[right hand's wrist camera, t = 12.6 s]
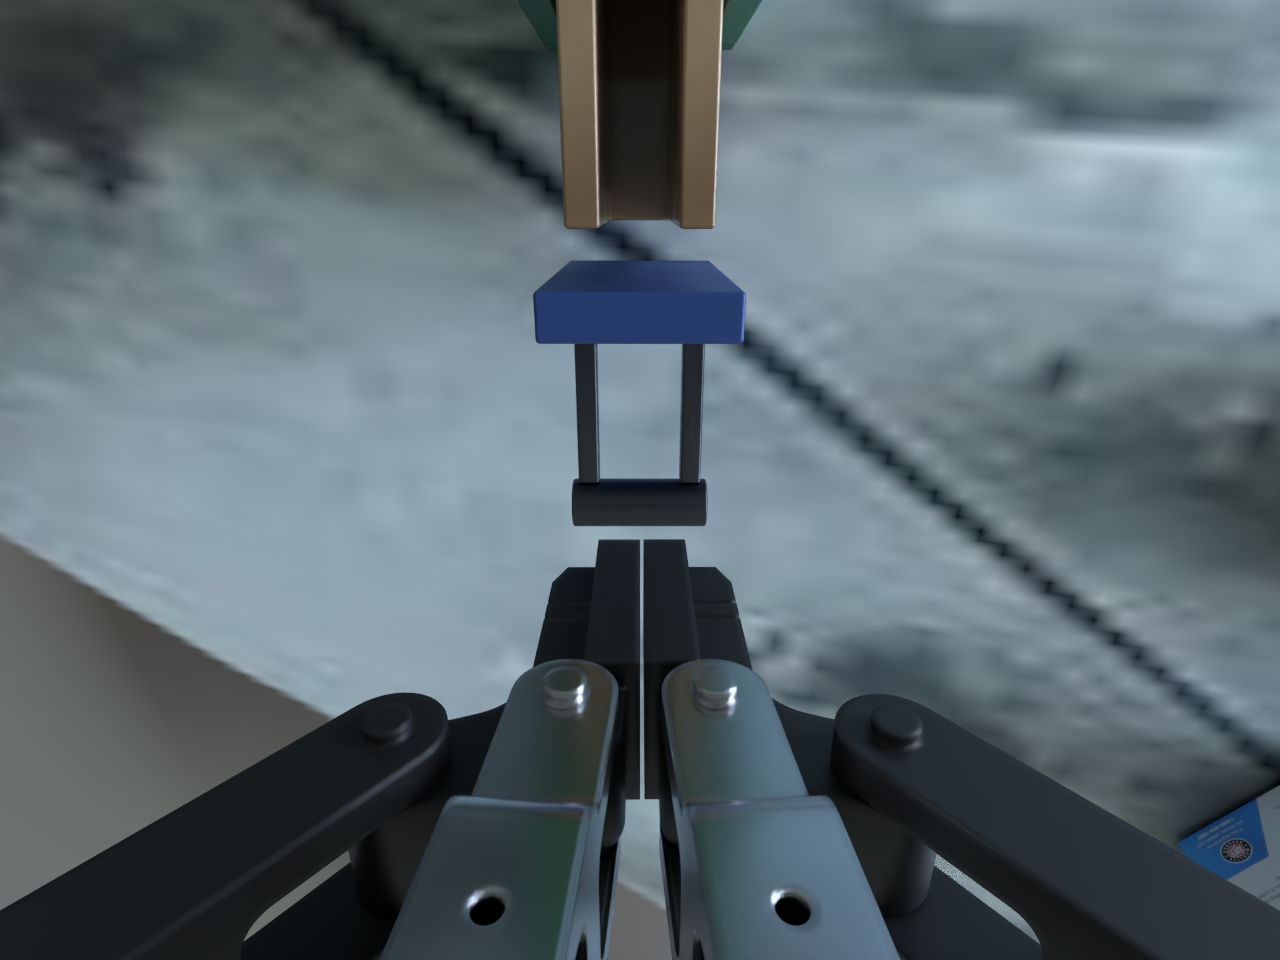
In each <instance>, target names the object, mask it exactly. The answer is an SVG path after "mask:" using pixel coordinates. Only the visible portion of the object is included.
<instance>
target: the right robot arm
mask: <svg viewBox="0 0 1280 960" xmlns="http://www.w3.org/2000/svg"><path fill="white" fill-rule="evenodd" d="M643 654H644V782H645V799H659V808H660V860H661V868H662V877H663V885H664V894H665V902H666V911H667V919H668V927H669V936H670V944H671V953H672V960H1280V910H1278V909H1276V908H1275V907H1273V906H1271V905H1269V904H1268V903H1266V902H1264V901H1262V900H1261V899H1259V898H1257V897H1255V896H1254V895H1252V894H1250V893H1248V892H1247V891H1245V890H1243V889H1241V888H1240V887H1238V886H1236V885H1234V884H1233V883H1231V882H1229V881H1228V880H1226V879H1224V878H1222V877H1221V876H1219V875H1217V874H1215V873H1214V872H1212V871H1210V870H1208V869H1207V868H1205V867H1203V866H1201V865H1200V864H1198V863H1196V862H1194V861H1193V860H1191V859H1189V858H1187V857H1186V856H1184V855H1182V854H1181V853H1179V852H1177V851H1175V850H1174V849H1172V848H1170V847H1168V846H1167V845H1165V844H1163V843H1161V842H1160V841H1158V840H1156V839H1154V838H1153V837H1151V836H1149V835H1147V834H1146V833H1144V832H1142V831H1140V830H1139V829H1137V828H1135V827H1134V826H1132V825H1130V824H1128V823H1127V822H1125V821H1123V820H1121V819H1120V818H1118V817H1116V816H1114V815H1113V814H1111V813H1109V812H1107V811H1106V810H1104V809H1102V808H1100V807H1099V806H1097V805H1095V804H1093V803H1092V802H1090V801H1088V800H1087V799H1085V798H1083V797H1081V796H1080V795H1078V794H1076V793H1074V792H1073V791H1071V790H1069V789H1067V788H1066V787H1064V786H1062V785H1060V784H1059V783H1057V782H1055V781H1053V780H1052V779H1050V778H1048V777H1046V776H1045V775H1043V774H1041V773H1040V772H1038V771H1036V770H1034V769H1033V768H1031V767H1029V766H1027V765H1026V764H1024V763H1022V762H1020V761H1019V760H1017V759H1015V758H1013V757H1012V756H1010V755H1008V754H1006V753H1005V752H1003V751H1001V750H999V749H998V748H996V747H994V746H992V745H991V744H989V743H987V742H986V741H984V740H982V739H980V738H979V737H977V736H975V735H973V734H972V733H970V732H968V731H966V730H965V729H963V728H961V727H959V726H958V725H956V724H954V723H952V722H951V721H949V720H947V719H945V718H944V717H942V716H940V715H939V714H937V713H935V712H933V711H932V710H930V709H928V708H926V707H924V706H922V705H920V704H918V703H916V702H913V701H911V700H908V699H905V698H901V697H897V696H892V695H883V694H869V695H863V696H859V697H856V698H853V699H851V700H849V701H847V702H846V703H844V704H843V705H842V706H841V707H840V709H839V710H838V711H837V714H836V717H835V720H834V719H829V718H825V717H821V716H816V715H812V714H807V713H804V712H800V711H797V710H794V709H792V708H789V707H787V706H785V705H783V704H781V703H779V702H777V701H776V700H774V699H773V698H771V695H770V692H769V690H768V687H767V686H766V684H765V682H764V681H763V680H762V678H761V677H760V676H759V675H757V674H756V673H755V672H754V671H752V667H751V663H750V658H749V654H748V650H747V646H746V642H745V638H744V633H743V629H742V625H741V621H740V618H739V613H738V608H737V604H736V602H735V596H734V592H733V588H732V583H731V582H730V581H729V580H728V579H727V578H726V577H725V576H724V575H723V574H722V573H721V572H720V571H719V570H718V569H717V568H716V567H688V559H687V552H686V544H685V540H684V539H644V581H643ZM626 799H640V540H599V542H598V550H597V558H596V566H595V567H568V568H567V569H566V570H565V571H564V572H563V573H562V574H561V575H560V576H559V577H558V578H557V579H556V580H555V581H554V582H553V583H552V587H551V591H550V596H549V600H548V604H547V609H546V613H545V619H544V622H543V626H542V630H541V635H540V639H539V643H538V648H537V652H536V656H535V661H534V665H533V668H531V669H530V670H528V671H526V672H525V673H524V674H523V675H521V676H520V677H519V678H518V680H517V681H516V682H515V684H514V686H513V687H512V690H511V692H510V695H509V698H508V700H507V703H505V704H503V705H501V706H499V707H497V708H494V709H491V710H489V711H486V712H482V713H479V714H474V715H470V716H466V717H461V718H457V719H452V720H448V718H447V714H446V711H445V709H444V708H443V706H442V705H441V704H440V703H439V702H438V701H436V700H435V699H433V698H431V697H429V696H426V695H422V694H417V693H393V694H388V695H383V696H380V697H376V698H373V699H370V700H368V701H365V702H363V703H361V704H359V705H357V706H355V707H354V708H352V709H350V710H348V711H347V712H345V713H343V714H341V715H340V716H338V717H336V718H335V719H333V720H331V721H329V722H328V723H326V724H324V725H322V726H321V727H319V728H317V729H315V730H314V731H312V732H310V733H308V734H307V735H305V736H303V737H301V738H300V739H298V740H296V741H295V742H293V743H291V744H289V745H288V746H286V747H284V748H282V749H281V750H279V751H277V752H275V753H274V754H272V755H270V756H268V757H267V758H265V759H263V760H261V761H260V762H258V763H256V764H254V765H253V766H251V767H249V768H247V769H246V770H244V771H242V772H241V773H239V774H237V775H235V776H234V777H232V778H230V779H228V780H227V781H225V782H223V783H221V784H220V785H218V786H216V787H214V788H213V789H211V790H209V791H208V792H206V793H204V794H202V795H200V796H199V797H197V798H195V799H194V800H192V801H190V802H188V803H187V804H185V805H183V806H181V807H180V808H178V809H176V810H174V811H173V812H171V813H169V814H167V815H166V816H164V817H162V818H160V819H159V820H157V821H155V822H153V823H152V824H150V825H148V826H147V827H145V828H143V829H141V830H140V831H138V832H136V833H134V834H133V835H131V836H129V837H127V838H126V839H124V840H122V841H120V842H119V843H117V844H115V845H113V846H112V847H110V848H108V849H107V850H105V851H103V852H101V853H100V854H98V855H96V856H94V857H93V858H91V859H89V860H87V861H86V862H84V863H82V864H80V865H79V866H77V867H75V868H73V869H72V870H70V871H68V872H66V873H65V874H63V875H61V876H59V877H58V878H56V879H54V880H53V881H51V882H49V883H47V884H46V885H44V886H42V887H40V888H39V889H37V890H35V891H33V892H32V893H30V894H28V895H26V896H25V897H23V898H21V899H19V900H18V901H16V902H14V903H12V904H11V905H9V906H7V907H6V908H4V909H2V910H0V960H608V953H609V944H610V936H611V928H612V919H613V911H614V902H615V894H616V885H617V877H618V868H619V860H620V836H621V834H622V831H623V828H624V824H625V801H626ZM347 850H348V851H349V856H350V861H351V862H350V863H349V864H347V865H346V866H345V867H343V868H342V869H341V870H339V871H338V872H336V873H335V874H334V875H332V876H331V877H330V878H328V879H327V880H326V881H324V882H323V883H322V884H320V885H319V886H318V887H316V888H315V889H314V890H312V891H311V892H310V893H308V894H307V895H306V896H304V897H303V898H302V899H300V900H299V901H298V902H296V903H295V904H294V905H292V906H291V907H290V908H288V909H287V910H286V911H284V912H283V913H282V914H280V915H279V916H278V917H276V918H275V919H274V920H272V921H271V922H270V923H268V924H267V925H266V926H264V927H263V928H262V929H260V930H259V931H258V932H256V933H255V934H254V935H252V936H251V937H250V938H248V939H247V940H245V941H244V939H245V936H246V935H247V933H248V931H249V929H250V928H251V927H252V925H253V924H254V922H255V921H256V920H257V919H258V918H259V917H260V916H261V915H262V914H263V913H264V912H265V911H266V910H267V909H268V908H270V907H271V906H272V905H273V904H275V903H276V902H278V901H279V900H280V899H282V898H283V897H284V896H286V895H287V894H289V893H290V892H291V891H293V890H294V889H295V888H297V887H298V886H299V885H301V884H302V883H304V882H305V881H306V880H308V879H309V878H310V877H312V876H313V875H314V874H316V873H317V872H318V871H320V870H321V869H323V868H324V867H325V866H327V865H328V864H330V863H331V862H332V861H334V860H335V859H336V858H338V857H339V856H340V855H342V854H343V853H344V852H346V851H347ZM936 853H937V854H938V855H940V856H941V857H942V858H944V859H945V860H946V861H948V862H949V863H951V864H952V865H953V866H955V867H956V868H957V869H959V870H960V871H961V872H963V873H964V874H966V875H967V876H968V877H970V878H971V879H972V880H974V881H975V882H976V883H978V884H979V885H981V886H982V887H983V888H985V889H986V890H987V891H989V892H990V893H992V894H993V895H994V896H996V897H997V898H998V899H1000V900H1001V901H1002V902H1004V903H1005V904H1007V905H1008V906H1009V907H1011V908H1012V909H1013V910H1014V911H1016V912H1017V913H1018V914H1019V915H1020V916H1021V917H1022V918H1023V919H1024V920H1025V921H1026V922H1027V923H1028V924H1029V925H1030V927H1031V928H1032V929H1033V931H1034V932H1035V934H1036V936H1037V937H1038V939H1039V941H1040V944H1041V945H1040V944H1039V943H1037V942H1036V941H1035V940H1033V939H1032V938H1031V937H1029V936H1028V935H1026V934H1025V933H1024V932H1022V931H1021V930H1020V929H1018V928H1017V927H1016V926H1014V925H1013V924H1012V923H1010V922H1009V921H1008V920H1006V919H1005V918H1004V917H1002V916H1001V915H1000V914H998V913H997V912H996V911H994V910H993V909H992V908H990V907H989V906H988V905H986V904H985V903H984V902H982V901H981V900H980V899H978V898H977V897H976V896H974V895H973V894H972V893H970V892H969V891H968V890H966V889H965V888H964V887H962V886H961V885H960V884H958V883H957V882H956V881H954V880H953V879H952V878H950V877H949V876H948V875H946V874H945V873H944V872H942V871H941V870H940V869H938V868H937V867H936V866H934V862H935V858H936ZM243 941H244V942H243Z"/></svg>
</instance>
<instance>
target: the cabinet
mask: <svg viewBox="0 0 1280 960" xmlns="http://www.w3.org/2000/svg"><path fill="white" fill-rule="evenodd" d="M517 1H518V3H519V4H520V6H521V7H522V9H523V11H524V12H525V14H526V16H527V17H528V19H529V20H530V22H531V24H532V25H533V27H534V29H535V30H536V32H537V34H538V35H539V37H540V38H541V40H542V42H543V43H544V44H545V46H546V47H547V49H549V50H558V44H557V17H556V0H517ZM761 1H762V0H723V26H722V50H731V49H733V47H734V45H735V44H736V42H737V41H738V39H739V37H740V36H741V34H742V33H743V31H744V29H745V28H746V26H747V24H748V23H749V21H750V19H751V18H752V16H753V14H754V13H755V11H756V10H757V8H758V6H759V5H760V3H761Z"/></svg>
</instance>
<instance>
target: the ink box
mask: <svg viewBox="0 0 1280 960" xmlns="http://www.w3.org/2000/svg"><path fill="white" fill-rule="evenodd" d="M1178 847H1179V849H1180V850H1181V851H1182V852H1183V853H1184V854H1185V856H1186V857H1187V858H1189V859H1191V860H1193V861H1194V862H1196V863H1198V864H1200V865H1201V866H1203V867H1205V868H1207V869H1208V870H1210V871H1212V872H1214V873H1215V874H1217V875H1219V876H1221V877H1222V878H1224V879H1226V880H1228V881H1229V882H1231V883H1233V884H1234V885H1236V886H1238V887H1240V888H1241V889H1243V890H1245V891H1247V892H1248V893H1250V894H1252V895H1254V896H1255V897H1257V898H1259V899H1261V900H1262V901H1264V902H1266V903H1268V904H1269V905H1271V906H1273V907H1275V908H1276V909H1278V910H1280V785H1279V786H1277V787H1275V788H1273V789H1272V790H1270V791H1268V792H1266V793H1265V794H1263V795H1261V796H1259V797H1258V798H1256V799H1254V800H1252V801H1251V802H1249V803H1247V804H1245V805H1243V806H1242V807H1240V808H1238V809H1236V810H1235V811H1233V812H1231V813H1229V814H1228V815H1226V816H1224V817H1222V818H1220V819H1219V820H1217V821H1215V822H1213V823H1211V824H1210V825H1208V826H1206V827H1204V828H1203V829H1201V830H1199V831H1197V832H1196V833H1194V834H1192V835H1190V836H1188V837H1186V838H1185V839H1183V840H1181V841H1180V842H1179V843H1178Z"/></svg>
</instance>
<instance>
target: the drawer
mask: <svg viewBox="0 0 1280 960" xmlns="http://www.w3.org/2000/svg"><path fill="white" fill-rule="evenodd" d="M556 17H557V44H558V72H559V99H560V126H561V153H562V180H563V208H564V226H565V228H567V229H597V228H599V227H600V226H602V225H603V224H605V223H607V222H608V221H610V220H670V221H671V222H673V223H674V224H676V225H677V226H679V227H680V228H683V229H712V228H714V226H715V214H716V187H717V161H718V134H719V107H720V80H721V53H722V26H723V0H556ZM533 301H534V319H535V338H536V342H537V343H539V344H574V345H575V375H576V405H577V434H578V464H579V479H574V481H573V487H572V519H573V524H574V526H705V525H706V521H707V485H706V481H705V479H700V470H701V441H702V412H703V383H704V354H705V344H740V343H742V342H743V340H744V323H745V305H746V294H745V292H744V291H742V290H741V289H740V288H739V287H738V286H737V285H736V284H734V283H733V282H732V281H731V280H730V279H729V278H728V277H726V276H725V275H724V274H723V273H722V272H721V271H720V270H718V269H717V268H716V267H715V266H714V265H713V264H712V263H710V262H709V261H570V262H569V263H568V264H567V265H565V266H564V267H563V268H562V269H561V270H560V271H559V272H557V273H556V274H555V275H554V276H553V277H552V278H551V279H549V280H548V281H547V282H546V283H545V284H544V285H542V286H541V287H540V288H539V289H538V290H537V291H536V292H534V295H533ZM597 344H682V372H681V417H680V461H679V478H680V479H600V450H599V405H598V359H597Z"/></svg>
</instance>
